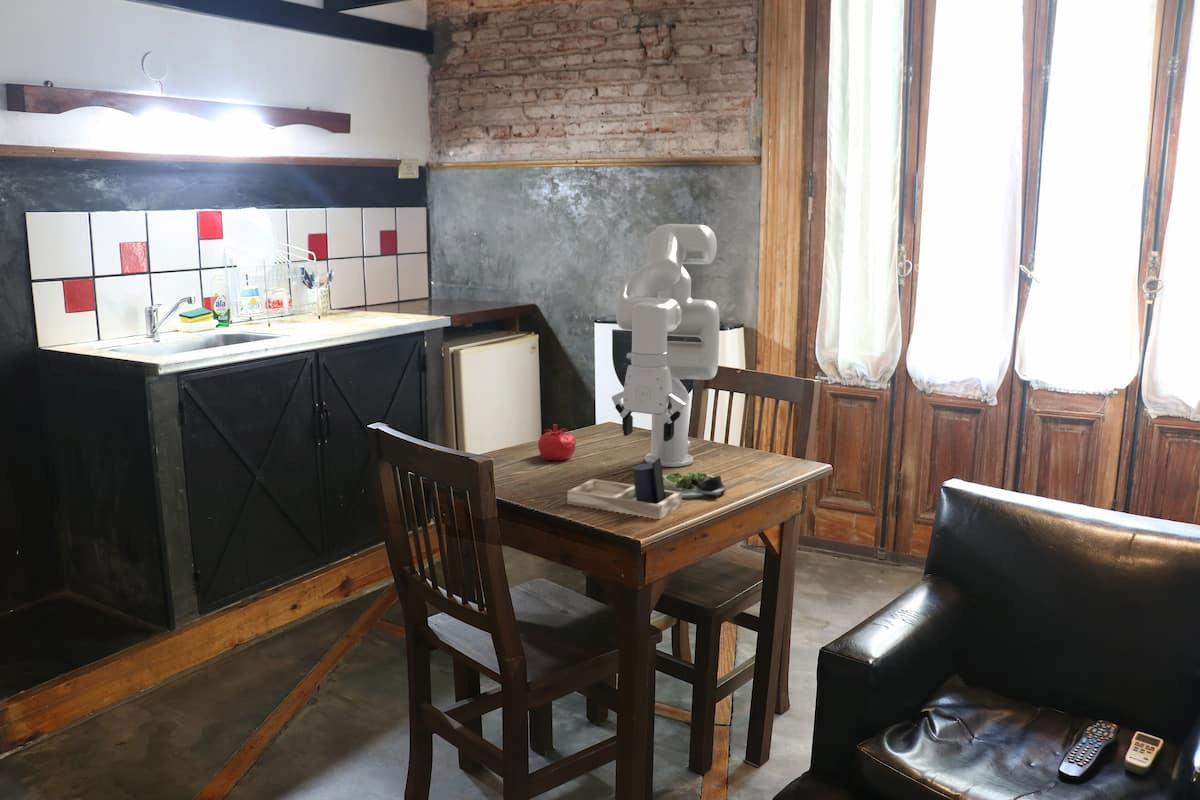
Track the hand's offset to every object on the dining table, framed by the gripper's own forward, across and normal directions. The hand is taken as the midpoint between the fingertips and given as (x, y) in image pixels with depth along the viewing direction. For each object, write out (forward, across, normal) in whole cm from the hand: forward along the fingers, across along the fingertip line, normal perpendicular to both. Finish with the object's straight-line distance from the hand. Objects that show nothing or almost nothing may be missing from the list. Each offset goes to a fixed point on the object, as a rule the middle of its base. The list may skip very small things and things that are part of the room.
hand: (647, 437), depth 217 cm
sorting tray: (+16, -5, -1) cm, 17 cm away
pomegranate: (+17, -39, +27) cm, 51 cm away
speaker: (+15, +1, 0) cm, 15 cm away
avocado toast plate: (+17, +3, +18) cm, 25 cm away
